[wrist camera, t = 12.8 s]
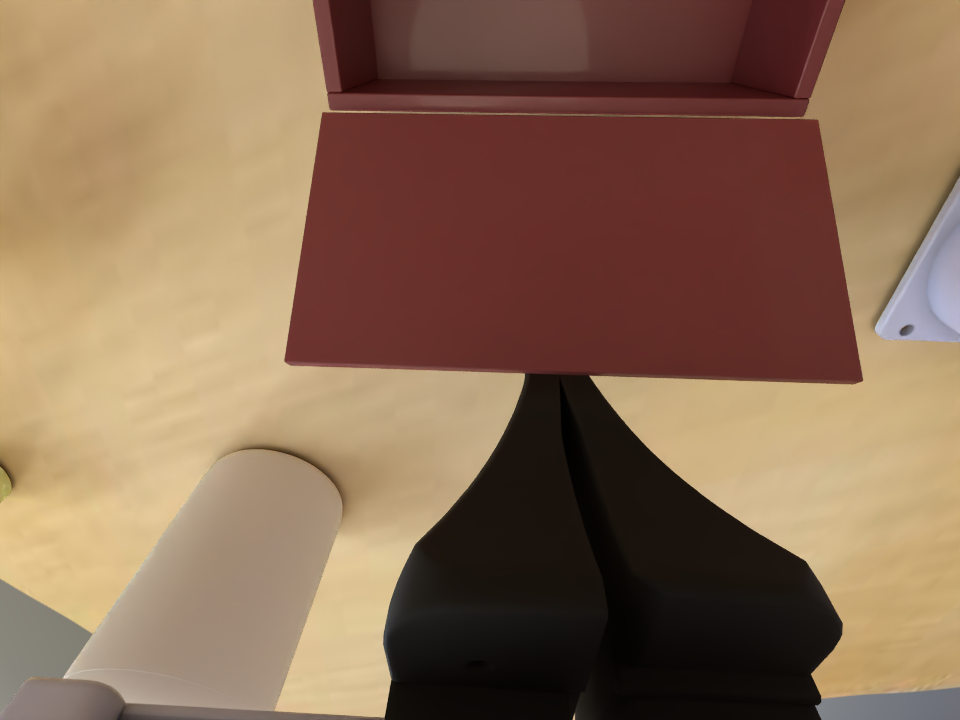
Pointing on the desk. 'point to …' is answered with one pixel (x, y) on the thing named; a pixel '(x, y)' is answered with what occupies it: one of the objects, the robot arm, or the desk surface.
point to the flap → (573, 248)
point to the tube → (4, 485)
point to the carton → (575, 55)
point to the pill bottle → (222, 589)
